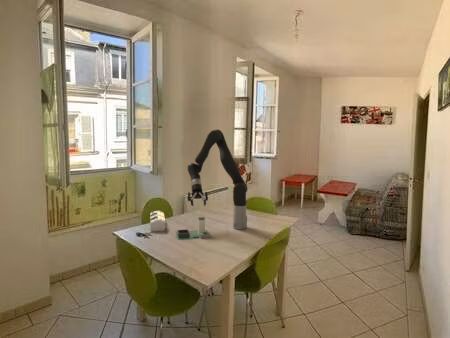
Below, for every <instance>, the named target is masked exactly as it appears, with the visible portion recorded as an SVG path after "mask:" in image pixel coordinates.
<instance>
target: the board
mask: <svg viewBox="0 0 450 338" xmlns="http://www.w3.org/2000/svg"><path fill="white" fill-rule="evenodd" d="M174 233H175V237H176V239H177V241H181V240H195V239H212V236H211V234H210V232H209V231H208V229H205V232H203V233H200V235H199V234H198V229H196V230H195V229H193V230H189V229H177V230H176V231H175V232H174Z"/></svg>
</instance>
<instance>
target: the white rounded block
mask: <svg viewBox="0 0 450 338" xmlns="http://www.w3.org/2000/svg"><path fill="white" fill-rule="evenodd" d="M149 215H150V216H149V219H150V229H151V231H152V232H157V231H158V232H160V231H165V230H166V229H167V226H166V225H167V224H166V223H167V222H166V218H165V213H164V212H163V211H161V210H154V211H151V212H150V214H149Z"/></svg>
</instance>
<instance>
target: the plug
mask: <svg viewBox="0 0 450 338" xmlns="http://www.w3.org/2000/svg"><path fill="white" fill-rule="evenodd" d="M197 230H198V234H199V235H200V233H203V232H205V230H206V218H205V216H203V217H202V216H201V217H198V218H197Z"/></svg>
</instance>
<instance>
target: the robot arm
mask: <svg viewBox="0 0 450 338" xmlns="http://www.w3.org/2000/svg"><path fill="white" fill-rule="evenodd" d="M204 140H205V141H204V142H203V145H202V147H201V149H200V151H199V152H198V154H197V155H196V157H195V159H194V162H190V163H188V165H187V171H188V174H189V177H190V182H191V183H190V185H191V192H190V191H188V192H187V201H188V202H190V205H191V207H194V201H195V200H198V199H200V200H201V201H203V207H205V206H206V205H207V201H208V200H209V195H208V192H207V191H205V192H203V186H202V185H203V184H202V180H201V175H200V173H201V172H202V168H203V166H204V163H205V161H206V160H207V158H208V157H209V154H210V150H211V149H212V147H213V146H214V145H215V144H216V146H217V149H218V150H219V151H218V152H219V159H220V163H221V165H222V167H223V168H224V171H225V172H226V174H228V176H229V177H230V178H231V180H232V183H233V185H234V187H233V189H232V191H233V192H232V195H233V196H232V199H233V200H232V201H233V218H232V219H233V221H232V228H233V229H234V230H239V231H240V230H245V229H247V227H248V225H247V224H248V215H247V203H248V202H247V192H248V185H247V183H246V182H245V180H244V178H243V176H242V175H241V173H240V170H239V168H238V166H237V163H236V160H235V159H234V157H233V155H232V153H231V150H230V149H229V147H228V144H227V141H226V139H225V135H224V133H223V132H222V131H221V130H220V129H213V130H210V131H209V132H208V134H207V136H206V138H205V139H204ZM191 196H192V197H191Z"/></svg>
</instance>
